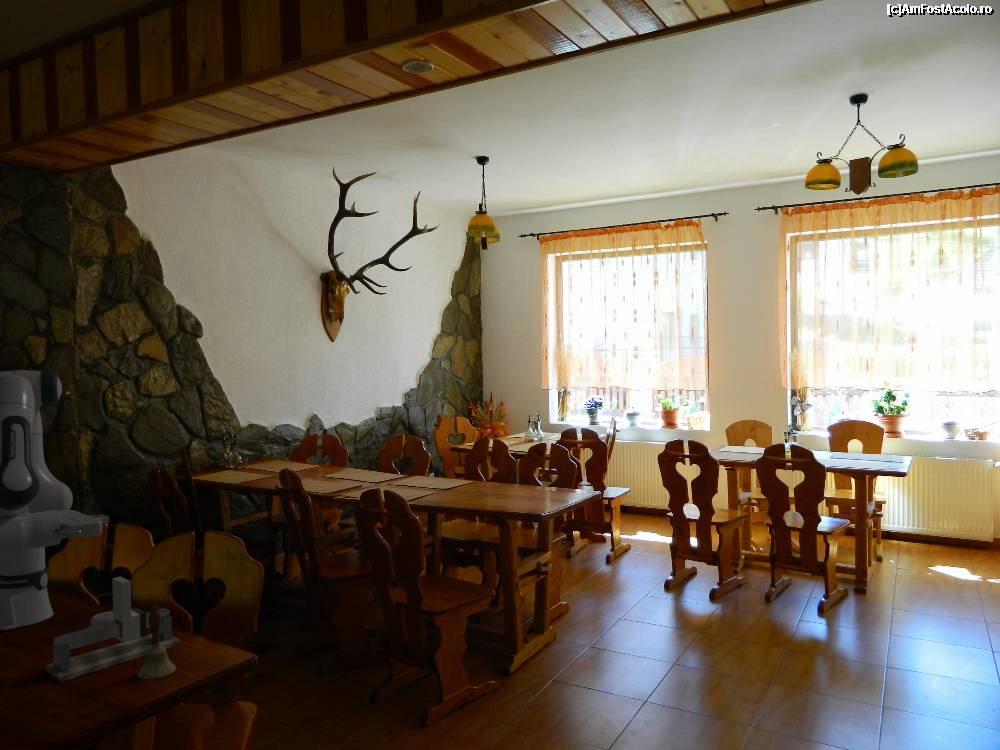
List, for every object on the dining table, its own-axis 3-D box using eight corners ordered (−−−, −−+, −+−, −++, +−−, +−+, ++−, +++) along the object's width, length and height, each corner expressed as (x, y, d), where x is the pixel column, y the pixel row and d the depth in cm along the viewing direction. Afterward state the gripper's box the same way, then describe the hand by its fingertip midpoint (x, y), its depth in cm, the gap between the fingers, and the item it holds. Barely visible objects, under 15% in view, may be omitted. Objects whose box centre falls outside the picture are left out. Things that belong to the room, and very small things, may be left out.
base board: (60, 681, 168) (60, 676, 168) (45, 670, 174) (45, 665, 174) (180, 644, 189) (180, 640, 189) (163, 635, 195) (163, 630, 195)
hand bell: (146, 683, 167) (144, 614, 166) (131, 673, 172) (129, 606, 172) (182, 670, 173) (180, 604, 172) (166, 661, 178) (164, 597, 178)
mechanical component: (112, 638, 194) (135, 624, 204) (112, 622, 194) (134, 609, 204) (77, 637, 195) (101, 623, 205) (77, 621, 195) (101, 608, 205)
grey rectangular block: (123, 642, 180) (122, 583, 180) (114, 637, 184) (112, 578, 184) (140, 638, 183) (138, 579, 183) (130, 632, 187) (128, 574, 187)
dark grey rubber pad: (140, 638, 183) (139, 614, 183) (130, 632, 187) (129, 609, 187) (146, 636, 184) (146, 612, 184) (136, 630, 188) (136, 607, 188)
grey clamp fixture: (61, 672, 170) (60, 641, 170) (53, 666, 173) (52, 635, 173) (171, 638, 190) (171, 610, 189) (163, 634, 193) (162, 606, 193)
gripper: (63, 522, 178) (122, 512, 189) (35, 510, 192) (92, 501, 202) (64, 547, 178) (123, 536, 189) (36, 534, 192) (93, 524, 202)
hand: (107, 518), depth 196 cm, fingers closed
